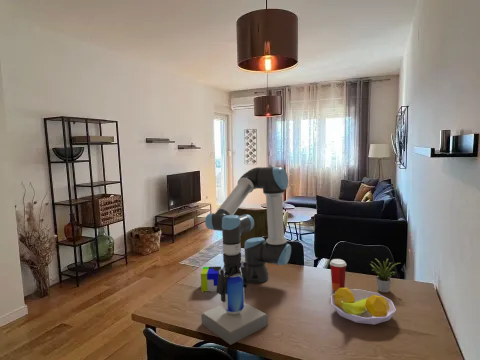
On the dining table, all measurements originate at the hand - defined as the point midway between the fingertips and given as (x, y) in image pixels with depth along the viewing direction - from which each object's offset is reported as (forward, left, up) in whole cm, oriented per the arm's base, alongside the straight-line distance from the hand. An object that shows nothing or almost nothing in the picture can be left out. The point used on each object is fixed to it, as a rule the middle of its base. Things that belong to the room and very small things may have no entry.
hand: (233, 304), depth 131 cm
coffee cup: (-61, +11, -9) cm, 63 cm away
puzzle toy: (-14, -37, -9) cm, 41 cm away
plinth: (0, 0, -9) cm, 9 cm away
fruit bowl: (-45, +32, -9) cm, 56 cm away
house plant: (-78, +28, -9) cm, 83 cm away
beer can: (0, 0, -3) cm, 3 cm away
